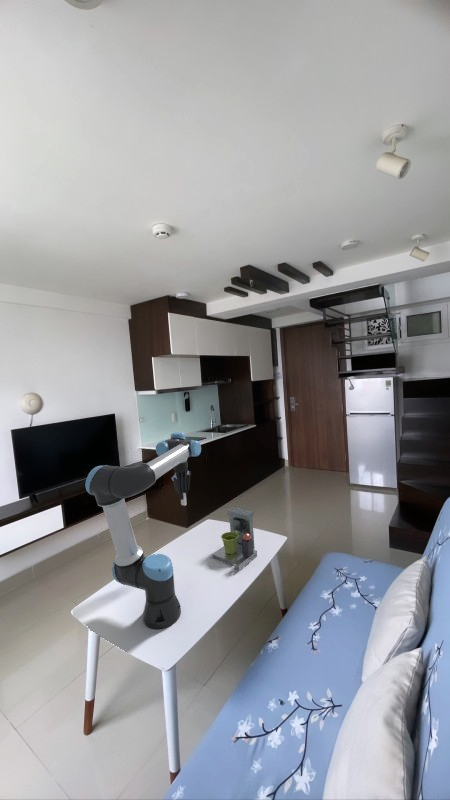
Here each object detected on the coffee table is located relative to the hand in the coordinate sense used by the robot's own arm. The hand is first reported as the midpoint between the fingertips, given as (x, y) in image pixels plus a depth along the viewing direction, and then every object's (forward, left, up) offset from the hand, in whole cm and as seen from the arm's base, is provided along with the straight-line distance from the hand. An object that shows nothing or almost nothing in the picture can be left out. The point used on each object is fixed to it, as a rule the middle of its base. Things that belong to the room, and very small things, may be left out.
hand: (184, 504), depth 171 cm
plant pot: (+14, -18, -28) cm, 36 cm away
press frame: (+16, -21, -29) cm, 40 cm away
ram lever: (+15, -29, -26) cm, 42 cm away
